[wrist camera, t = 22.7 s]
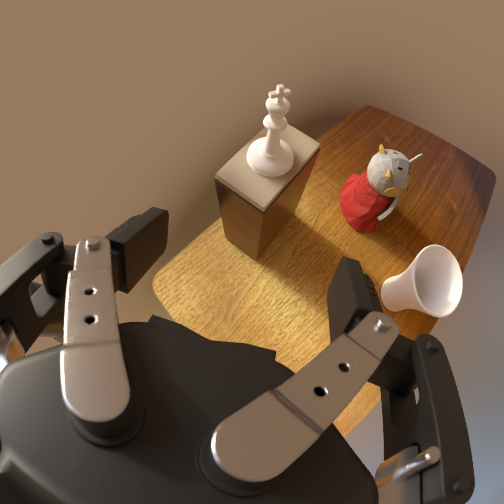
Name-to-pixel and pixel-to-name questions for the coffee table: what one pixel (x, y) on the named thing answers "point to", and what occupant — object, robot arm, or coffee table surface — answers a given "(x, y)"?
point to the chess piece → (273, 139)
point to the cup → (426, 284)
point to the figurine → (375, 189)
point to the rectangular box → (262, 193)
